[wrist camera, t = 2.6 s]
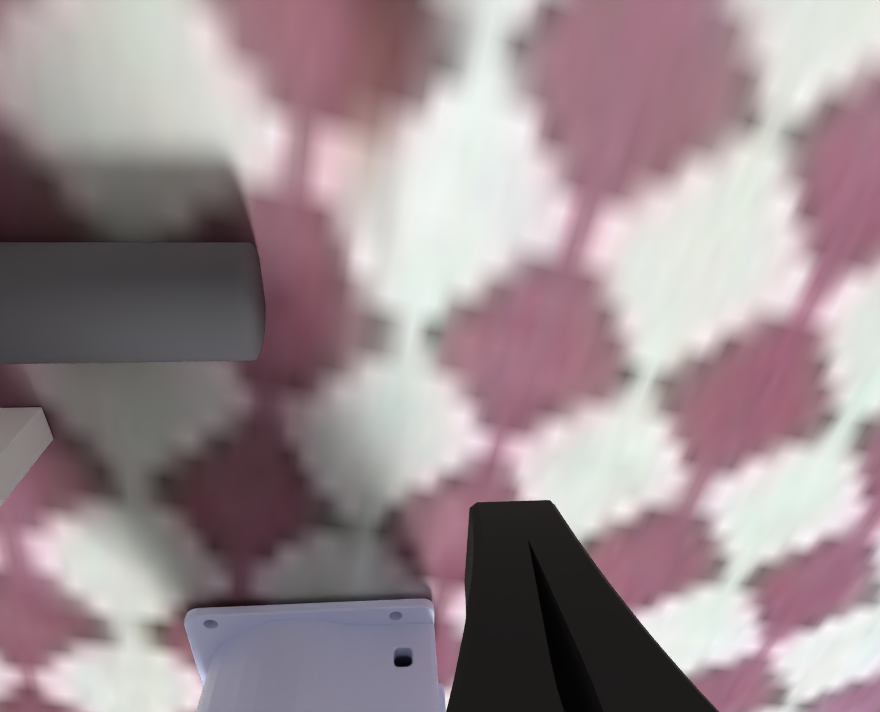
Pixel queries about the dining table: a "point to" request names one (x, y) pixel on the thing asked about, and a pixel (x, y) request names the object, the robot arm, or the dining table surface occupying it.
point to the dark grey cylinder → (130, 302)
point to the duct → (20, 444)
